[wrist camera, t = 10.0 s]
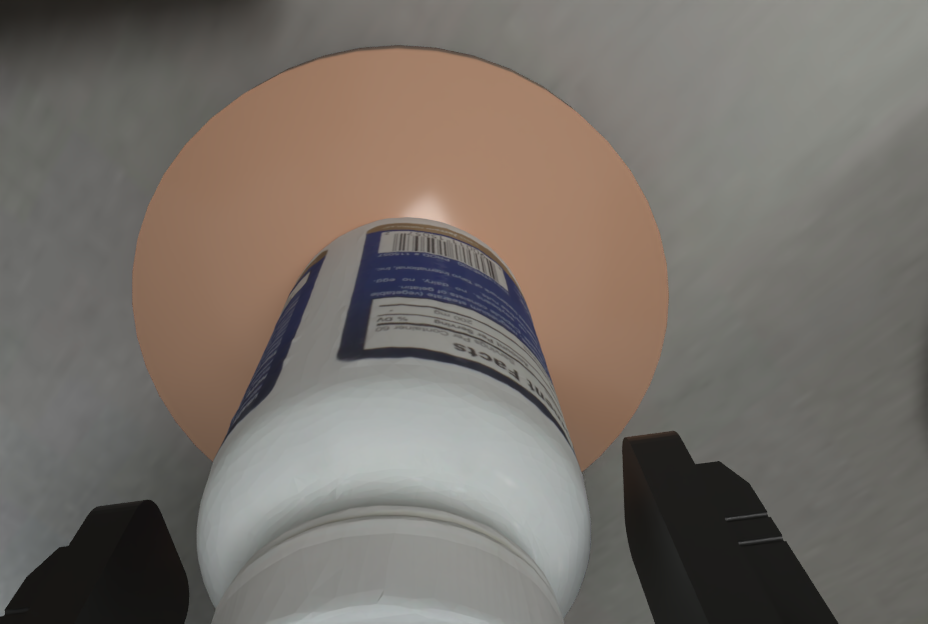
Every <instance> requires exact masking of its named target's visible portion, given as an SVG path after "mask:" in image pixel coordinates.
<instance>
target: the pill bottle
mask: <svg viewBox="0 0 928 624" xmlns="http://www.w3.org/2000/svg"><path fill="white" fill-rule="evenodd" d="M590 549H591V517H590V510H589V504H588V498H587V493H586V490H585V484H584V479H583V475H582V472H581V469H580V466H579V464H578V461H577V458H576V454H575V451H574V447H573V444H572V441H571V438H570V435H569V432H568V429H567V427H566V424H565V420H564V417H563V414H562V411H561V407H560V404H559V401H558V397H557V395H556V392H555V389H554V385H553V383H552V380H551V377H550V374H549V371H548V368H547V364H546V361H545V358H544V355H543V352H542V350H541V347H540V343H539V340H538V337H537V334H536V331H535V328H534V324H533V321H532V317H531V314H530V311H529V309H528V306H527V303H526V301H525V298H524V295H523V293H522V291H521V289H520V286H519V284H518V282H517V280H516V279H515V277H514V275H513V273H512V271H511V270H510V268H509V267H508V266H507V264H506V263H505V262H504V261H503V260H502V259H501V258H500V257H499V256H498V254H497V253H496V252H495V251H494V250H492V249H491V248H490V247H489V246H488V245H487V244H485V243H484V242H482V241H481V240H479V239H478V238H476V237H474V236H473V235H471V234H469V233H467V232H466V231H464V230H461V229H459V228H456V227H454V226H451V225H449V224H446V223H443V222H439V221H434V220H429V219H422V218H412V217H404V218H387V219H382V220H378V221H375V222H372V223H369V224H366V225H363V226H360V227H358V228H356V229H354V230H352V231H349V232H348V233H346V234H344V235H342V236H340V237H338V238H337V239H335V240H334V241H332V242H331V243H330V244H329V245H327V246H326V247H325V248H324V249H322V250H321V251H320V252H319V253H318V254H317V255H316V256H315V257H314V258H313V259H312V260H311V261H310V263H309V264H308V265H307V266H306V268H305V269H304V271H303V272H302V274H301V275H300V277H299V278H298V280H297V281H296V283H295V285H294V287H293V289H292V291H291V292H290V294H289V296H288V299H287V301H286V303H285V305H284V307H283V310H282V312H281V315H280V317H279V319H278V321H277V323H276V325H275V328H274V331H273V333H272V335H271V338H270V340H269V342H268V344H267V346H266V348H265V351H264V353H263V355H262V357H261V359H260V362H259V364H258V366H257V368H256V370H255V373H254V375H253V377H252V379H251V381H250V384H249V386H248V388H247V390H246V392H245V394H244V397H243V399H242V401H241V403H240V406H239V408H238V410H237V412H236V413H235V415H234V417H233V418H232V420H231V423H230V427H229V429H228V432H227V434H226V436H225V438H224V440H223V442H222V444H221V446H220V448H219V450H218V452H217V454H216V456H215V458H214V460H213V464H212V467H211V470H210V474H209V477H208V481H207V484H206V486H205V489H204V493H203V496H202V499H201V502H200V507H199V514H198V521H197V555H198V562H199V566H200V570H201V575H202V579H203V583H204V586H205V588H206V590H207V592H208V595H209V597H210V599H211V602H212V604H213V606H214V607H215V609H216V610H215V613H214V616H213V619H212V622H211V624H564V620H563V619H564V617H565V616H566V614H567V613H568V611H569V610H570V608H571V606H572V605H573V603H574V601H575V599H576V597H577V595H578V593H579V590H580V587H581V585H582V582H583V579H584V576H585V573H586V570H587V566H588V562H589V556H590Z"/></svg>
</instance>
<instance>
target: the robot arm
mask: <svg viewBox="0 0 928 624" xmlns="http://www.w3.org/2000/svg"><path fill="white" fill-rule="evenodd" d="M622 454H623V482H624V510H625V525H626V532H627V538H628V543H629V548H630V552H631V556H632V559H633V562H634V565H635V568H636V571H637V574H638V576H639V579H640V582H641V585H642V588H643V591H644V593H645V596H646V599H647V602H648V605H649V608H650V610H651V613H652V616H653V619H654V622H655V624H838V622H837V620H836V619H835V617H834V616H833V614H832V613H831V611H830V609H829V608H828V606H827V605H826V603H825V602H824V600H823V598H822V597H821V595H820V594H819V592H818V591H817V589H816V587H815V586H814V584H813V583H812V581H811V580H810V578H809V576H808V575H807V573H806V572H805V570H804V569H803V567H802V565H801V564H800V562H799V561H798V559H797V558H796V556H795V555H794V553H793V551H792V550H791V548H790V547H789V545H788V544H787V542H786V541H783V538H782V534H781V533H780V531H779V529H778V528H777V526H776V525H775V523H774V522H773V520H772V518H771V517H768V515H767V511H766V509H765V507H764V506H763V504H762V503H761V501H760V500H759V498H758V496H757V495H756V493H755V492H754V490H753V489H752V487H751V485H750V484H749V483H748V482H747V481H745V480H744V479H743V478H741V477H740V476H739V475H737V474H736V473H735V472H733V471H732V470H731V469H729V468H728V467H726V466H725V465H724V464H722V463H721V462H720V461H717V462H709V463H702V464H695V463H694V461H693V459H692V458H691V456H690V454H689V452H688V450H687V449H686V447H685V445H684V443H683V441H682V439H681V438H680V436H679V434H678V433H677V432H675V431H669V432H662V433H655V434H647V435H640V436H632V437H625V438H624V439H623V445H622ZM188 605H189V586H188V580H187V576H186V573H185V570H184V568H183V565H182V563H181V560H180V558H179V556H178V553H177V551H176V548H175V546H174V543H173V541H172V538H171V536H170V534H169V531H168V529H167V526H166V524H165V521H164V519H163V517H162V514H161V512H160V510H159V508H158V506H157V505H156V504H155V503H154V502H153V501H151V500H143V501H135V502H128V503H120V504H113V505H105V506H99V507H96V508H94V509H93V510H92V511H91V512H90V513H89V514H88V516H87V517H86V519H85V521H84V522H83V524H82V525H81V527H80V529H79V530H78V532H77V533H76V535H75V536H74V538H73V540H72V541H71V543H70V544H69V546H66V547H59V548H58V549H57V550H56V551H55V552H54V553H53V554H52V555H50V556H49V557H48V558H47V559H46V560H45V561H44V562H43V563H42V564H41V565H39V566H38V567H37V568H36V569H35V570H34V571H33V572H32V573H31V574H30V575H28V576H27V577H26V579H25V580H24V582H23V583H22V585H21V586H20V588H19V589H18V591H17V592H16V594H15V595H14V597H13V598H12V600H11V601H10V603H9V604H8V606H7V607H6V609H5V615H4V616H2V617H0V624H184V622H185V619H186V616H187V611H188Z"/></svg>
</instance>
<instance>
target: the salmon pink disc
mask: <svg viewBox="0 0 928 624" xmlns="http://www.w3.org/2000/svg"><path fill="white" fill-rule="evenodd" d="M404 217H412V218H422V219H429V220H434V221H439V222H443V223H446V224H449V225H451V226H454V227H456V228H459V229H461V230H464V231H466V232H467V233H469V234H471V235H473V236H474V237H476V238H478V239H479V240H481V241H482V242H484V243H485V244H487V245H488V246H489V247H490V248H491V249H492V250H494V251H495V252H496V253H497V254H498V256H499V257H500V258H501V259H502V260H503V261H504V262H505V263H506V264H507V266H508V267H509V268H510V270H511V271H512V273H513V275H514V277H515V279H516V280H517V282H518V284H519V286H520V289H521V291H522V293H523V295H524V298H525V301H526V303H527V306H528V309H529V311H530V314H531V317H532V321H533V324H534V328H535V331H536V334H537V337H538V340H539V343H540V347H541V350H542V352H543V355H544V358H545V361H546V364H547V368H548V371H549V374H550V377H551V380H552V383H553V385H554V389H555V392H556V395H557V397H558V401H559V404H560V407H561V411H562V414H563V417H564V420H565V424H566V427H567V429H568V432H569V435H570V438H571V441H572V444H573V447H574V451H575V454H576V458H577V461H578V464H579V466H580V469H581V472H583V471H584V470H585V469H586V468H587V467H588V466H589V465H591V464H592V463H593V462H594V461H595V460H596V459H597V458H599V457H600V456H601V455H602V453H603V452H604V451H605V450H606V449H607V448H608V447H609V446H610V445H611V443H612V442H613V441H614V440H615V439H616V438H617V437H618V436H619V435H620V433H621V432H622V430H623V429H624V427H625V426H626V425H627V423H628V422H629V420H630V419H631V417H632V416H633V415H634V413H635V412H636V410H637V408H638V406H639V404H640V402H641V401H642V399H643V397H644V395H645V393H646V391H647V389H648V387H649V385H650V383H651V380H652V377H653V375H654V372H655V369H656V366H657V364H658V361H659V358H660V355H661V350H662V346H663V341H664V336H665V332H666V327H667V314H668V300H669V291H668V277H667V264H666V259H665V255H664V250H663V246H662V241H661V237H660V232H659V230H658V227H657V225H656V222H655V219H654V217H653V214H652V212H651V209H650V206H649V204H648V201H647V199H646V198H645V196H644V194H643V192H642V190H641V189H640V187H639V185H638V183H637V182H636V180H635V178H634V176H633V174H632V173H631V171H630V170H629V168H628V167H627V166H626V164H625V163H624V162H623V160H622V159H621V158H620V157H619V155H618V154H617V153H616V151H615V150H614V149H613V148H612V146H611V145H610V144H609V142H608V141H607V140H606V139H605V138H603V137H602V136H601V135H600V134H599V133H598V132H597V131H596V130H595V129H594V128H593V127H592V126H591V125H590V124H589V123H588V122H587V121H586V120H585V119H584V118H583V117H582V116H581V115H579V114H578V113H577V112H576V111H575V110H574V109H573V108H572V107H571V106H569V105H568V104H566V103H565V102H564V101H562V100H561V99H560V98H558V97H557V96H555V95H554V94H553V93H551V92H550V91H548V90H547V89H546V88H544V87H543V86H542V85H540V84H538V83H536V82H534V81H532V80H530V79H528V78H526V77H524V76H523V75H521V74H519V73H517V72H515V71H513V70H511V69H509V68H507V67H504V66H501V65H498V64H496V63H493V62H490V61H487V60H485V59H482V58H479V57H476V56H473V55H468V54H464V53H459V52H454V51H449V50H445V49H440V48H432V47H418V46H403V45H394V46H380V47H365V48H357V49H353V50H348V51H343V52H339V53H334V54H329V55H325V56H321V57H319V58H316V59H313V60H311V61H308V62H305V63H302V64H300V65H297V66H294V67H291V68H289V69H287V70H285V71H283V72H281V73H279V74H278V75H276V76H274V77H272V78H270V79H268V80H267V81H265V82H263V83H261V84H259V85H257V86H256V87H254V88H252V89H251V90H249V91H248V92H246V93H244V94H243V95H241V96H240V97H239V98H237V99H236V100H235V101H233V102H232V103H231V104H229V105H228V106H227V107H225V108H224V109H223V110H221V111H220V112H219V113H217V114H216V115H215V116H213V117H212V118H211V119H210V120H209V121H208V122H207V123H206V124H205V125H204V126H203V127H202V128H201V129H200V130H199V131H198V132H197V133H196V134H195V135H194V136H193V137H192V138H191V139H190V140H189V141H188V142H187V144H186V145H185V146H184V147H183V149H182V150H181V151H180V153H179V154H178V156H177V157H176V158H175V160H174V161H173V163H172V164H171V165H170V167H169V168H168V170H167V171H166V172H165V174H164V175H163V177H162V179H161V181H160V183H159V185H158V187H157V189H156V191H155V193H154V195H153V197H152V199H151V201H150V203H149V205H148V208H147V211H146V214H145V217H144V220H143V224H142V227H141V230H140V233H139V236H138V240H137V246H136V253H135V259H134V265H133V276H132V305H133V312H134V318H135V325H136V332H137V338H138V341H139V344H140V348H141V351H142V354H143V358H144V361H145V364H146V367H147V370H148V372H149V374H150V376H151V378H152V380H153V383H154V385H155V387H156V389H157V391H158V394H159V396H160V397H161V399H162V400H163V402H164V404H165V405H166V407H167V408H168V410H169V412H170V413H171V415H172V416H173V418H174V419H175V421H176V422H177V424H178V425H179V426H180V427H181V429H182V430H183V431H184V432H185V433H186V435H187V436H188V437H189V438H190V439H191V441H192V442H193V443H194V444H195V446H197V447H198V448H199V449H200V450H201V451H202V452H203V453H204V454H205V455H206V456H207V457H208V458H209V459H210V460H211V461H212V462H213V460H214V458H215V456H216V454H217V452H218V450H219V448H220V446H221V444H222V442H223V440H224V438H225V436H226V434H227V432H228V429H229V427H230V423H231V420H232V418H233V417H234V415H235V413H236V412H237V410H238V408H239V406H240V403H241V401H242V399H243V397H244V394H245V392H246V390H247V388H248V386H249V384H250V381H251V379H252V377H253V375H254V373H255V370H256V368H257V366H258V364H259V362H260V359H261V357H262V355H263V353H264V351H265V348H266V346H267V344H268V342H269V340H270V338H271V335H272V333H273V331H274V328H275V325H276V323H277V321H278V319H279V317H280V315H281V312H282V310H283V307H284V305H285V303H286V301H287V299H288V296H289V294H290V292H291V291H292V289H293V287H294V285H295V283H296V281H297V280H298V278H299V277H300V275H301V274H302V272H303V271H304V269H305V268H306V266H307V265H308V264H309V263H310V261H311V260H312V259H313V258H314V257H315V256H316V255H317V254H318V253H319V252H320V251H321V250H322V249H324V248H325V247H326V246H327V245H329V244H330V243H331V242H332V241H334V240H335V239H337V238H338V237H340V236H342V235H344V234H346V233H348V232H349V231H352V230H354V229H356V228H358V227H360V226H363V225H366V224H369V223H372V222H375V221H378V220H382V219H387V218H404Z"/></svg>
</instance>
